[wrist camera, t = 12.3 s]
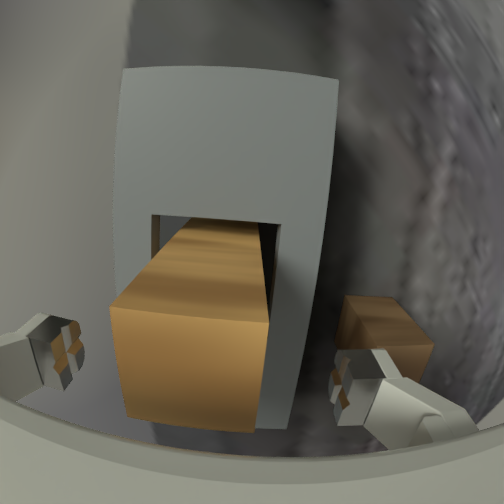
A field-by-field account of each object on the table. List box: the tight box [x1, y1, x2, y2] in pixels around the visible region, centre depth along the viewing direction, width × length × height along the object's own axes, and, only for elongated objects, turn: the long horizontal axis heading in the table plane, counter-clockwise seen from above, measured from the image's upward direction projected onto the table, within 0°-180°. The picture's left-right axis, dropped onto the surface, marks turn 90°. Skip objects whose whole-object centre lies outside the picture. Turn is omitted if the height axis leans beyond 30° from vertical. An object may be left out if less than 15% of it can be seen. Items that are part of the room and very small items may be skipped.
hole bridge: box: [113, 66, 339, 429], centre depth 18 cm, size 20×10×6 cm, turn 175°
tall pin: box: [110, 217, 269, 433], centre depth 15 cm, size 4×4×14 cm
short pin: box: [334, 295, 435, 384], centre depth 20 cm, size 4×4×7 cm
